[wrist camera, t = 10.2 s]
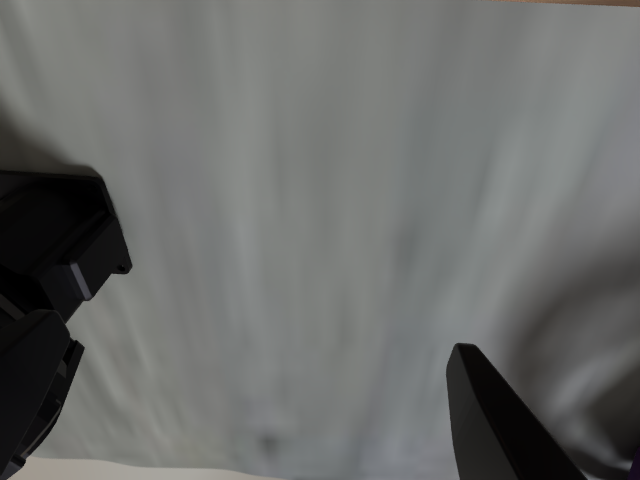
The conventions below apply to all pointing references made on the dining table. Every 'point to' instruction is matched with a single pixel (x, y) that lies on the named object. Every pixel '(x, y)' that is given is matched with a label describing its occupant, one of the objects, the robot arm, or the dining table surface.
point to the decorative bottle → (635, 467)
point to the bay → (585, 2)
